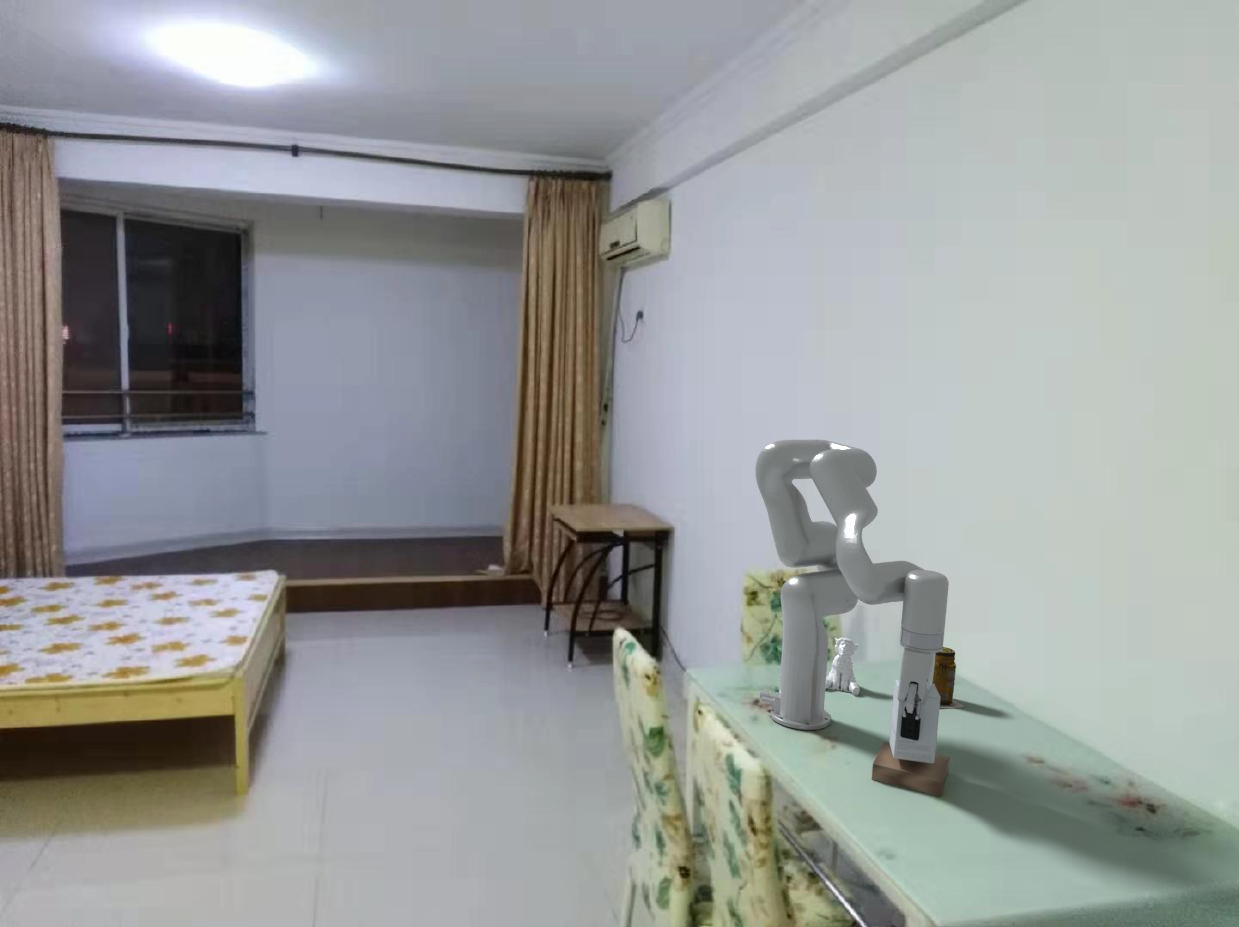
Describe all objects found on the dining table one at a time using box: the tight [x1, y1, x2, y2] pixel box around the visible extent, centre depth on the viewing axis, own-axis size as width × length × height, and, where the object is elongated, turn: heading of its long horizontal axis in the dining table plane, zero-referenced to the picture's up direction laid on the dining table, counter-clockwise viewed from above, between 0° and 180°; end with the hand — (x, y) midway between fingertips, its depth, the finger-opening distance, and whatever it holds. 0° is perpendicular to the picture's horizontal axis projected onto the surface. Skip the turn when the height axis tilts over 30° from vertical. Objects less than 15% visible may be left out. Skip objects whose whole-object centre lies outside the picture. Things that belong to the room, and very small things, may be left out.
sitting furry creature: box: [825, 637, 861, 697], centre depth 207 cm, size 10×9×12 cm
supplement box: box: [888, 679, 941, 763], centre depth 162 cm, size 7×7×13 cm
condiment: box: [932, 646, 965, 709], centre depth 201 cm, size 7×8×12 cm
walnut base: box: [871, 742, 950, 797], centre depth 163 cm, size 12×11×3 cm
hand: (913, 729), depth 163 cm, fingers closed on supplement box, 8 cm apart
